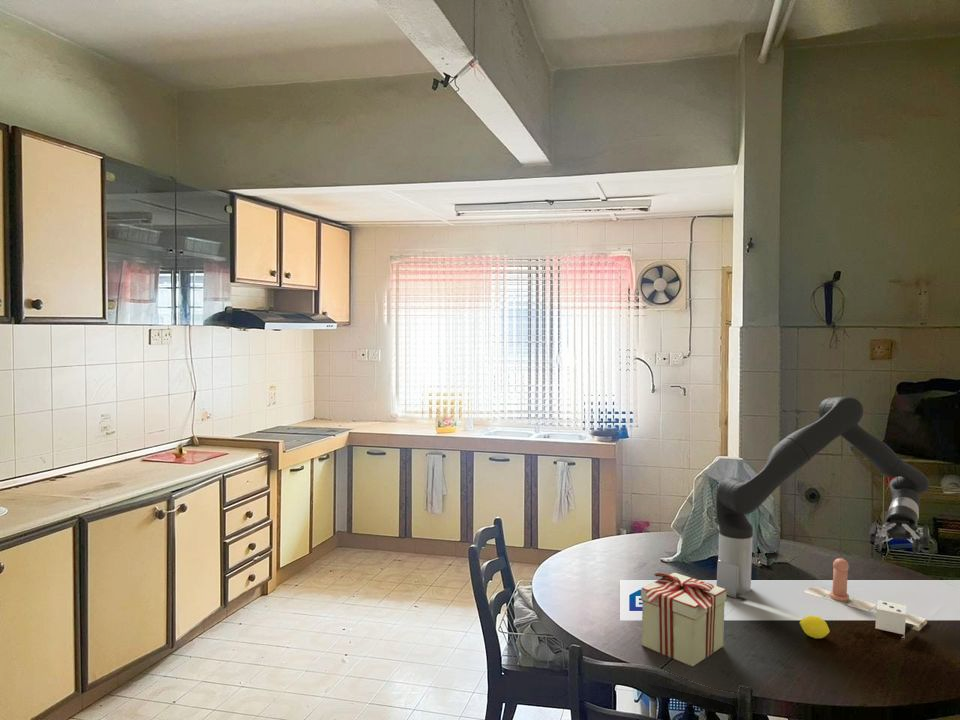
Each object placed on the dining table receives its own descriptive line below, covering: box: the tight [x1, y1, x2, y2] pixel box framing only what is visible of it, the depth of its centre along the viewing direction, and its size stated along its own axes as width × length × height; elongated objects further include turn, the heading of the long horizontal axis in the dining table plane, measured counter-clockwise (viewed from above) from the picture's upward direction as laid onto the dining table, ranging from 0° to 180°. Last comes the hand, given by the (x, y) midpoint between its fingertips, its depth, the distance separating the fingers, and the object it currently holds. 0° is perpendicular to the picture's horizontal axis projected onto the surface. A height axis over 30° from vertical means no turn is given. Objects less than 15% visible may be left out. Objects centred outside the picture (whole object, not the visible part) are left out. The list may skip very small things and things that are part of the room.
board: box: [803, 586, 928, 632], centre depth 199 cm, size 7×30×1 cm, turn 43°
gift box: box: [640, 572, 727, 667], centre depth 174 cm, size 17×18×17 cm
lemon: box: [799, 615, 831, 639], centre depth 182 cm, size 7×5×5 cm
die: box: [875, 599, 907, 639], centre depth 185 cm, size 6×6×7 cm
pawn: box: [829, 557, 850, 602], centre depth 203 cm, size 5×5×12 cm
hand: (896, 549), depth 194 cm, fingers open, 8 cm apart
